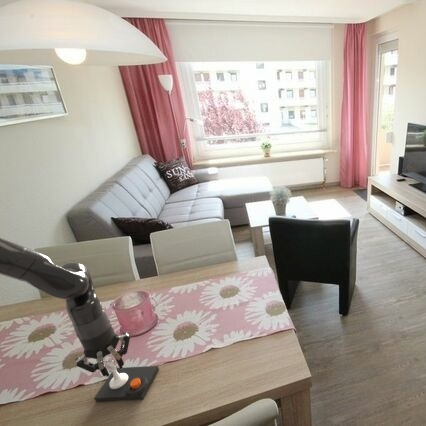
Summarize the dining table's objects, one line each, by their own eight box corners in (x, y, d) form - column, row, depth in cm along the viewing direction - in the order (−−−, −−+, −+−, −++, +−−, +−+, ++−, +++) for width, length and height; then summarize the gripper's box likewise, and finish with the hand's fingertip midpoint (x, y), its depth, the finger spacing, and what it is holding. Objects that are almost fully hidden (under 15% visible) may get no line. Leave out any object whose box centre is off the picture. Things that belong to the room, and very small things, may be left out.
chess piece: (114, 375, 93) (104, 352, 89) (131, 373, 93) (121, 350, 89) (106, 390, 88) (94, 367, 84) (123, 387, 89) (112, 365, 85)
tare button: (138, 389, 87) (136, 385, 86) (129, 389, 87) (128, 386, 86) (143, 381, 89) (141, 377, 89) (134, 381, 89) (132, 378, 89)
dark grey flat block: (143, 400, 87) (140, 392, 85) (95, 403, 87) (91, 395, 85) (159, 369, 96) (157, 362, 95) (116, 371, 96) (112, 364, 95)
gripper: (118, 308, 89) (135, 349, 96) (60, 336, 79) (83, 379, 87) (126, 320, 84) (143, 362, 91) (64, 351, 75) (89, 395, 82)
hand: (114, 370), depth 89 cm, fingers open, 3 cm apart
